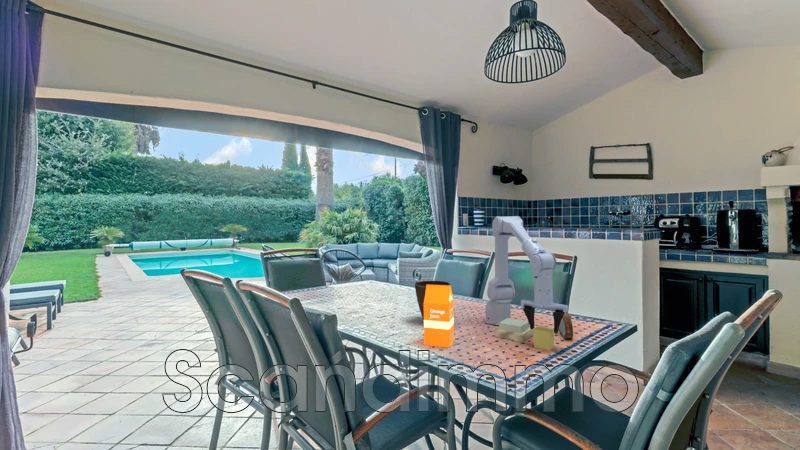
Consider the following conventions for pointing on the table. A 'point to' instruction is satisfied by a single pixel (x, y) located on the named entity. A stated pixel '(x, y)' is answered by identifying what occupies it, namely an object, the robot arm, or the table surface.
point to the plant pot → (421, 290)
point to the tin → (566, 326)
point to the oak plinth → (514, 335)
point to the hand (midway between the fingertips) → (544, 330)
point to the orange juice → (438, 316)
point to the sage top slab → (514, 325)
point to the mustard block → (544, 338)
